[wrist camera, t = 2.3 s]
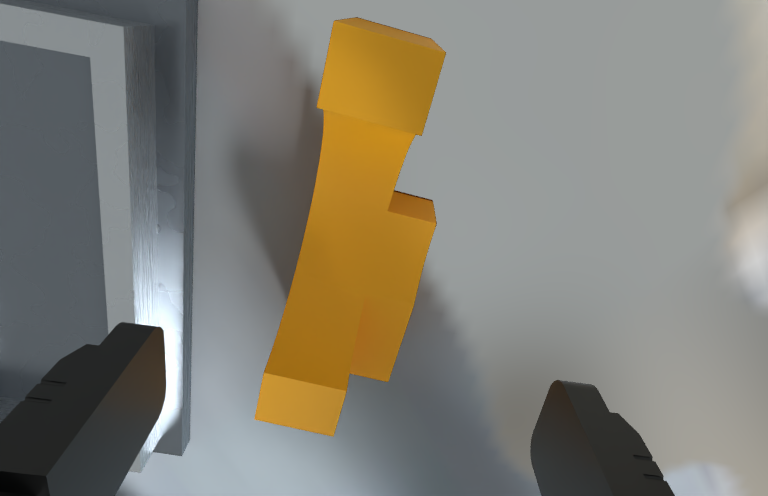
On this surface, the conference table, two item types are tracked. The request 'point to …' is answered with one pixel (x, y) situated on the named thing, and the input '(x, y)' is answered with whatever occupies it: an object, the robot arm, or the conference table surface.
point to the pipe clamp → (356, 228)
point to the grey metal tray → (97, 188)
